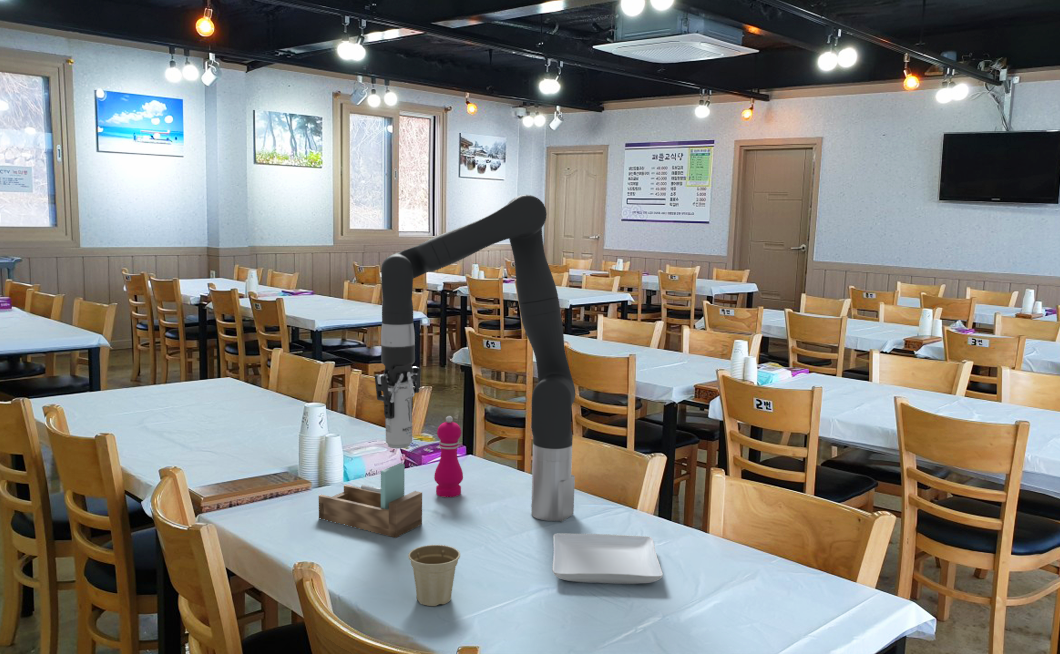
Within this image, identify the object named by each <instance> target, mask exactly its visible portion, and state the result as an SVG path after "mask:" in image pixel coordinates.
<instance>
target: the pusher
mask: <svg viewBox="0 0 1060 654" xmlns="http://www.w3.org/2000/svg"><path fill="white" fill-rule="evenodd" d="M405 467H406V466H405V463H402V462H401V463H397V464H394V465H392V466H389V467H387V468H384V469H382V470H380V487H374V486H370V485H366V484H362V485H361V487H360V488H361V489H364V490H368V491H373V492H378V493H381V508H383V509H387V510H389V503H390V502H392V501H394V500H396V499H398V498H401V497H403V496H405Z"/></svg>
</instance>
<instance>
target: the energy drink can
mask: <svg viewBox="0 0 1060 654" xmlns="http://www.w3.org/2000/svg"><path fill="white" fill-rule="evenodd" d="M388 388H394V386H389V385H388ZM388 394H389V397H390V395H391V392H388ZM384 420H385V444H387V446H388V447H389V448H391V449H405V448H409V447H410V446H411V444H412V442H413V409H412V388H411V386H410V385H409V381H405V382H402V383H400V387H399V389H398V392H397V393H395V399H394V418H393V419H388V418H384Z"/></svg>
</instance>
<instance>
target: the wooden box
mask: <svg viewBox="0 0 1060 654" xmlns="http://www.w3.org/2000/svg"><path fill="white" fill-rule="evenodd" d="M319 518H321V519H325V520H324V521H326V520H328V521H327V522H330V521H332V522H331V523H334V522H336V523H335V524H338V523H340V524H339V525H342V524H345V525H344V526H346V525H348V526H347V527H350V526H352V528H354V527H356V528H355V529H358V528H360V529H359V530H362V529H364V530H363V531H366V530H368V531H367V532H370V531H371V533H374V532H375V533H376V534H378V533H379V535H382V534H383V535H382V536H386V535H387V537H391V538H395V539H396V538H399V537H400V536H402V535H405V534H406V533H408V532H410V531H412V530H414V529H416V528H419V527H420V526H421V525H423V491H417V490H414V491H412V492H409V493H407V494H406V495H405V494H404V496H403V497H401V498H398V499H396V500H394V501H392V502H390V503H389V510H387V509H383V508H381V493H378V492H373V491H368V490H364V489H361V487H359V486H355V485H349V484H345V485H343V492H339V493H338V494H335V495H331V496H329V495H325V494H319V495H318V519H319ZM321 519H320V520H321Z"/></svg>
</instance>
